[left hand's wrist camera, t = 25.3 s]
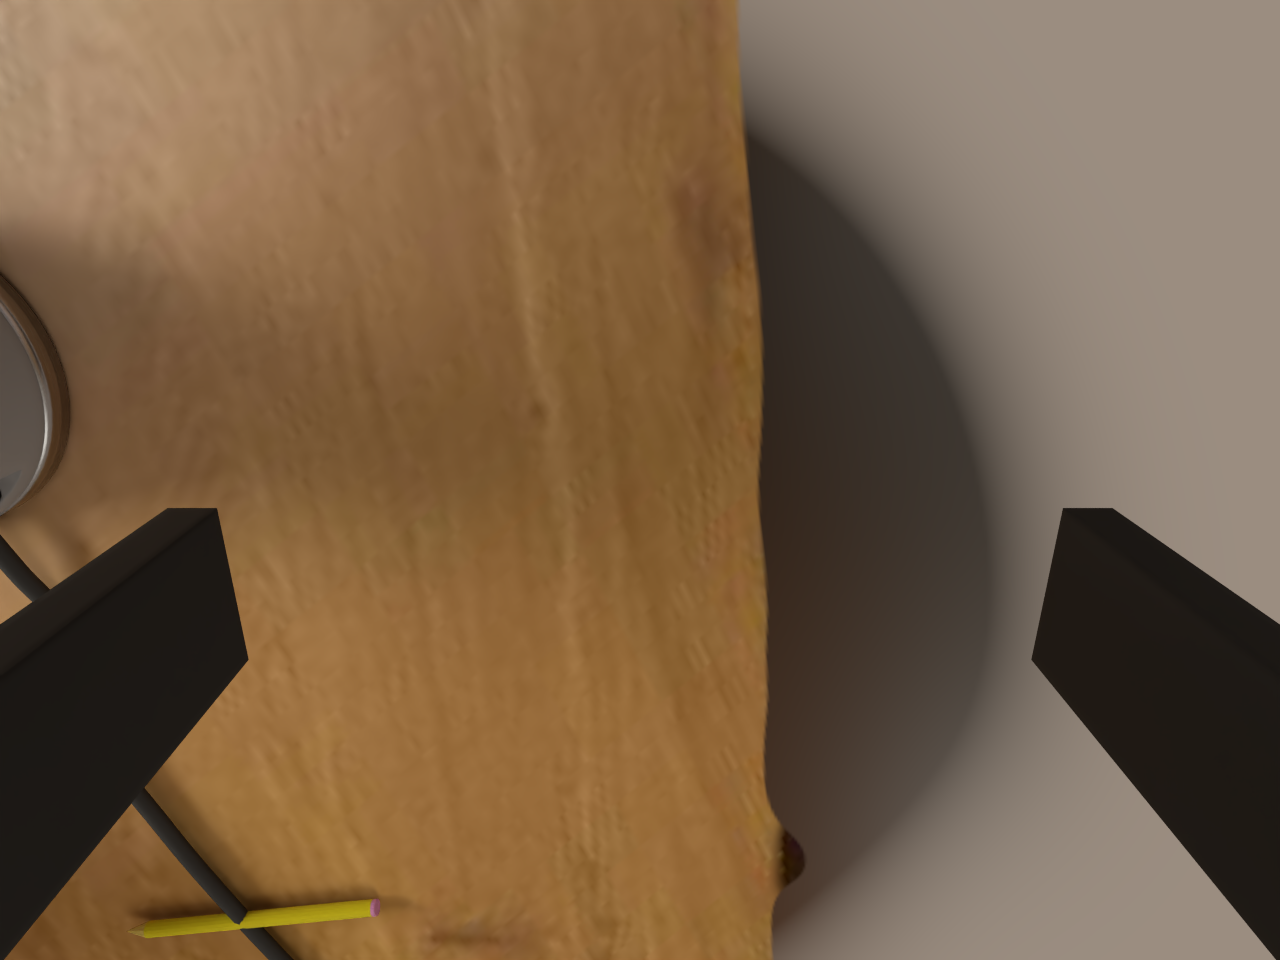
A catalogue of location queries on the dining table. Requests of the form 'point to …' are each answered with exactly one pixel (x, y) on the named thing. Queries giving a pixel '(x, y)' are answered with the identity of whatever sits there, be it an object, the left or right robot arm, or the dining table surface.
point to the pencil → (259, 918)
